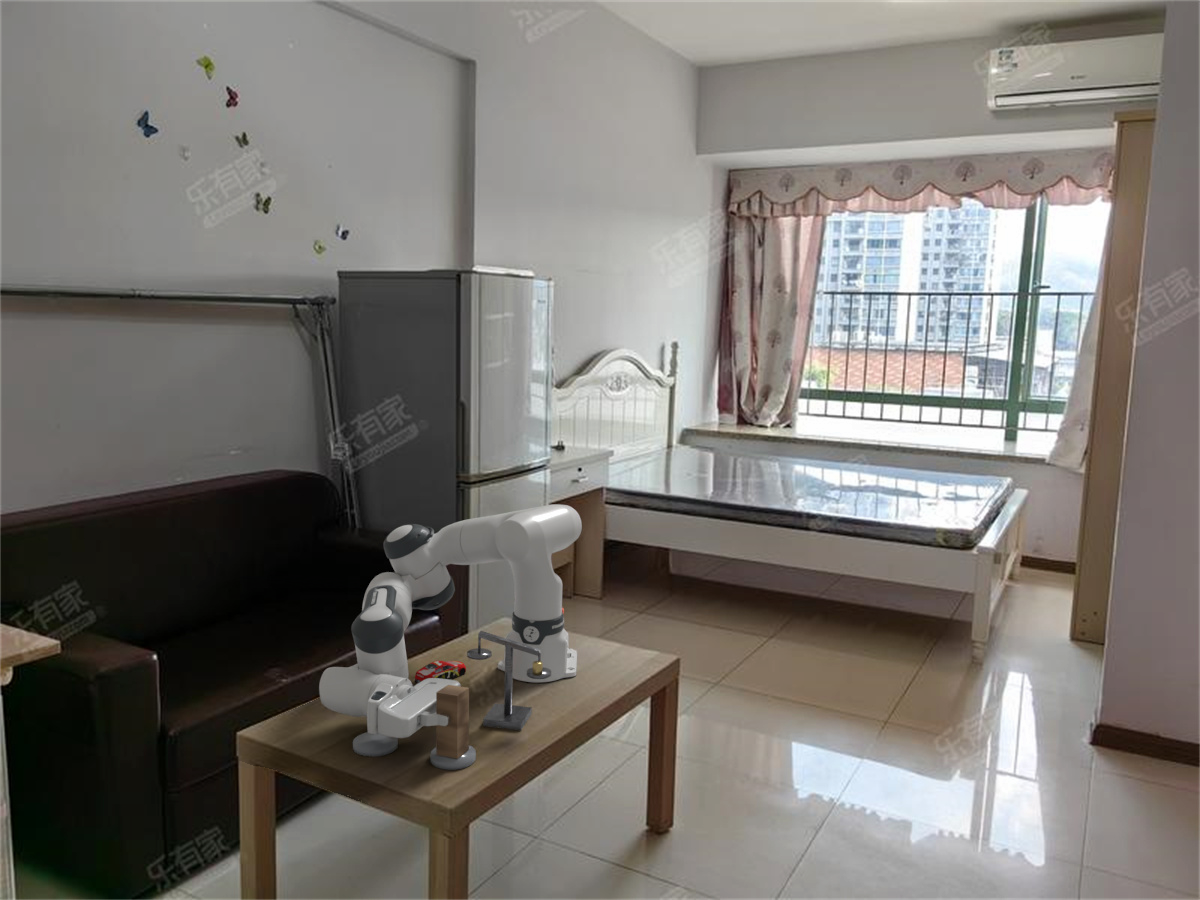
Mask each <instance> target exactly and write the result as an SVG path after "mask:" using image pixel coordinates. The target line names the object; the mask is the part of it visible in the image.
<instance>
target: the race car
mask: <svg viewBox="0 0 1200 900" xmlns="http://www.w3.org/2000/svg"><path fill="white" fill-rule="evenodd" d="M466 672H467V666H466V665H465V663H463V662H462V661H459V660H458V661H457V660H448V661H444V660H435V661H432V662H430V663H428V664H426V665H424V666H423V667H421V668H419V669H418V670H417V671H416V672H415V675H414V682H415V683H416V684H417V683H419V682H421V681H423V680H425V679H428V678H440V679H449V680H453V679H454V678H457V677H462V676H464V675H465V674H466Z"/></svg>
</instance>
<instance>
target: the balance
mask: <svg viewBox="0 0 1200 900" xmlns="http://www.w3.org/2000/svg"><path fill="white" fill-rule="evenodd" d="M477 636H478V638H477V642H478V644H477V648H476V647H475V648H471V649H469V650H468V651H467V652H466V657H467V658H468V659H471V660H476V661H480V660H481V661H483V660H487V659H490V658H491V657H492V651H491V650H490V649H488V648H483V647H482V646H481V644H482V639H483V640H486V641H490V642H492V643H496V644H499V645H502V646H504V653H505V671H504V693H503V694H504V696H503V697H504V698H503V700H504V702H503V703H495V702H494V704H493V705H492V706H491V708H490V709H489V711H488V712H487V713H486V715H484V717H483V721H482V724H483V725H482V726H483V727H490V728H496V729H504V728H508V729H507V730H513V729H516V730H515V731H522V730H523V729H522V728H524V727H525V726H526V724H527V722H528V721H529V719H530V718H531V716H532V715H533V714H532V712H533V708H532V707H531V706H521V705H514V704H513V683H514V682H513V679H514V678H513V648H514V649H518V650H521V651H524V652H527V653H530V654H533V655H537V656H538V661H534V662H533V668H530V669H528V670H527V676H528V677H530V678H533V679H545V678H548V677H550V676H551V670H550V669H548V668H544V667H543V662H542V661H541V652H540V651H541V649H538V648H535V647H531V646H528V645H525V644H522V643H519V642H515V641H512V640H509V639H506V637H503V636H499V635H496V634H493V633H489V632H487V631H484V630H480V631H479V633H478V635H477ZM529 717H530V718H529ZM527 720H528V721H527ZM525 723H526V724H525ZM523 726H524V727H523ZM498 727H499V728H498Z"/></svg>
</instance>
